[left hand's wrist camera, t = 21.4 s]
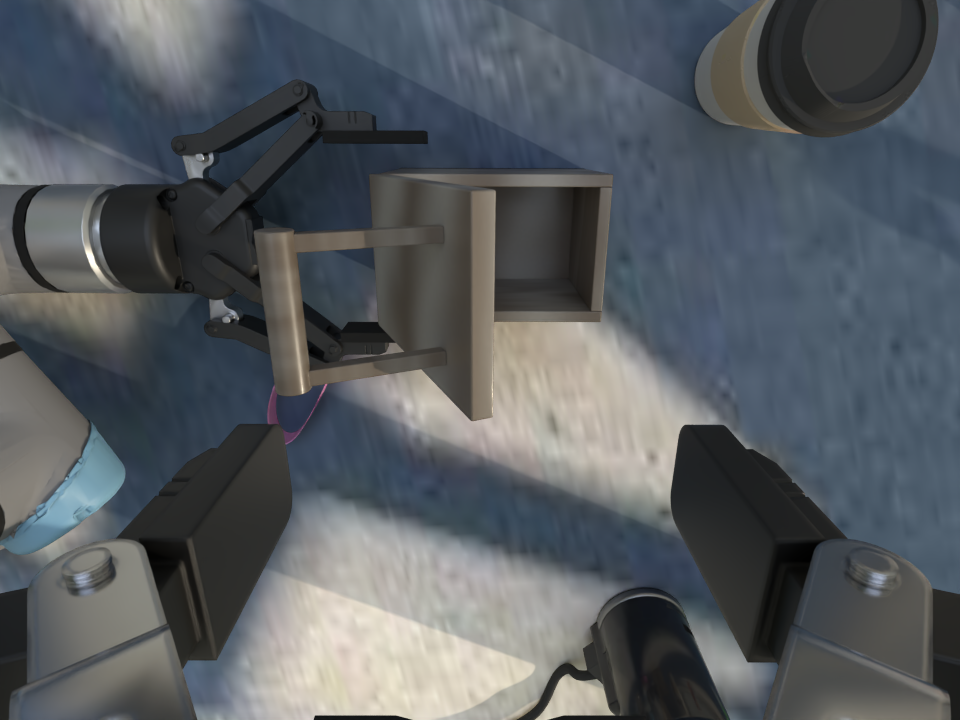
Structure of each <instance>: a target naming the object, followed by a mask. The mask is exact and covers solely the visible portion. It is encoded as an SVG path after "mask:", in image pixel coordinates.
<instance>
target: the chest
mask: <svg viewBox="0 0 960 720" xmlns="http://www.w3.org/2000/svg"><path fill="white" fill-rule="evenodd" d="M380 174H389V175H396V176H403V177H410V178H417V179H424V180H431V181H438V182H445V183H452V184H459V185H466V186H473V187H480V188H487V189H494V190H495V191H496V206H495V285H494V322H601V314H602V312H601V311H602V302H603V290H604V278H605V266H606V254H607V242H608V231H609V219H610V207H611V195H612V183H613V174H608V173H602V172H597V171H592V170H586V169H558V168H400V169H397V170H393V171H388V172H384V173H380Z"/></svg>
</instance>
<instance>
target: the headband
mask: <svg viewBox="0 0 960 720" xmlns="http://www.w3.org/2000/svg"><path fill="white" fill-rule="evenodd" d="M326 386H327V384H325V386H324V388H323V390H322V392H321V394H320V396H319V399H318V401H317V403H316V405H315V407H314V408H313V410H312V412H311V414H312V413H313V411H314V409H315V408H316V406H317V404H318V402H319V400H320V398H321V396H322V394H323V392H324V390H325V388H326ZM276 399H277V393H276V391H275V385H274V387H273V390H272V394H271V397H270V400H269V405H268V424H279V422H278V418H277V413H276ZM311 414H310V416H311ZM310 416H309V418H310ZM309 418H308V419H309ZM307 421H308V420H307ZM307 421H306V422H307ZM305 424H306V423H305ZM305 424H304V425H305ZM279 425H280V424H279ZM304 425H303V426H302V427H301V428H300V429H299V430H298V431H296V432H293V433H288V432H286V431H284V430H283V429H282V430H283V433H284V438H285V444H288V443H290V442H291V441H293V440H294V439H295V438H296V437H297V435H298V434H299V433H300V432H301V430H302V429H303V427H304ZM281 428H282V427H281Z"/></svg>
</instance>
